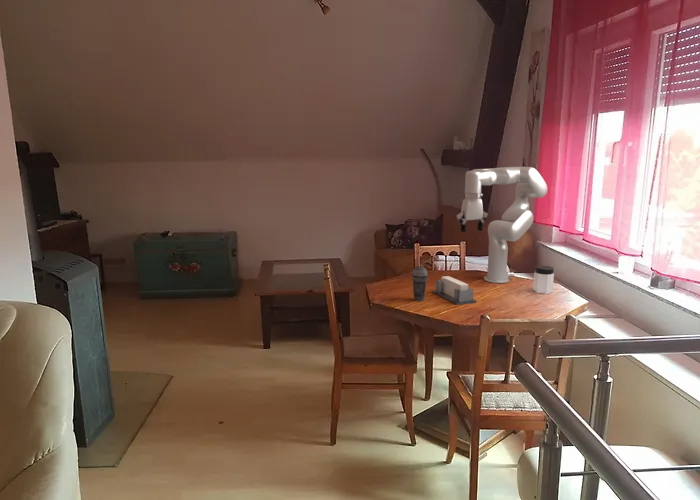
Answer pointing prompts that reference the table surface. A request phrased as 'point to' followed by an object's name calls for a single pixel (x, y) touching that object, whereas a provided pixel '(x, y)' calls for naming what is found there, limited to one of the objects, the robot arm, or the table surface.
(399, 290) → the table surface
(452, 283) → the rail
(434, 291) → the bracket board
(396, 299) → the table surface
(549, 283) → the jar
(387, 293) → the table surface
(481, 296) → the table surface
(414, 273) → the beverage cup
